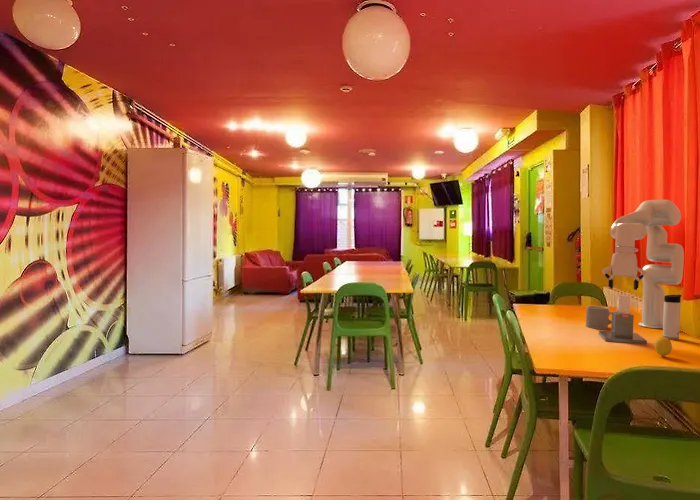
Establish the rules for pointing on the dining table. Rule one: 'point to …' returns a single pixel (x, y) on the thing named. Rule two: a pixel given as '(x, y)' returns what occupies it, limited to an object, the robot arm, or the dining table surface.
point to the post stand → (622, 330)
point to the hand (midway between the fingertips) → (623, 289)
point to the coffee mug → (598, 317)
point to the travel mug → (671, 316)
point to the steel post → (622, 304)
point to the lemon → (663, 346)
